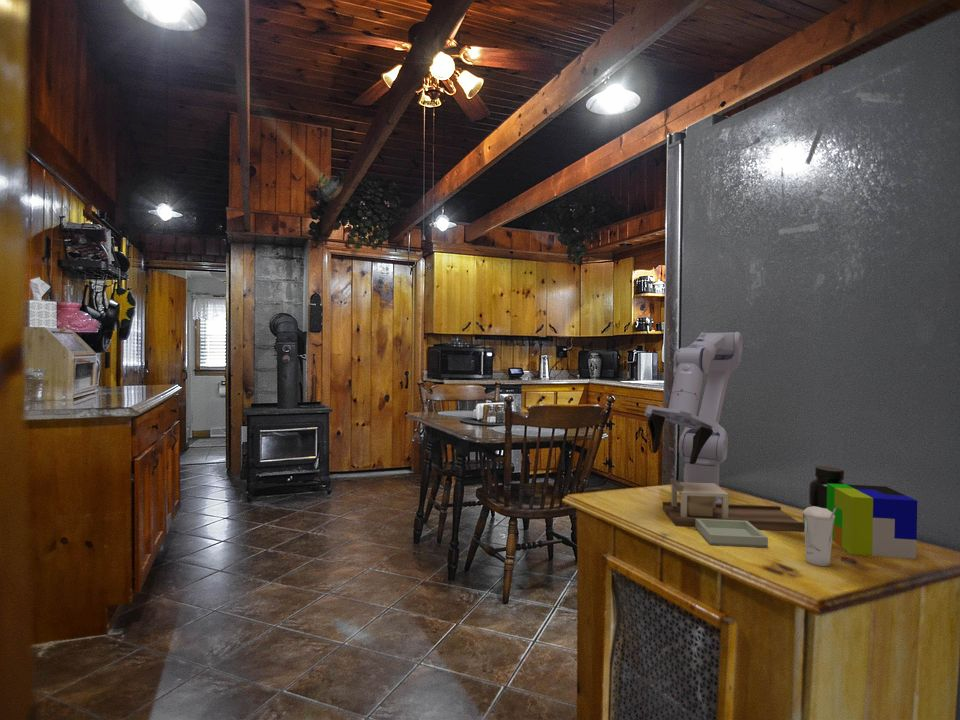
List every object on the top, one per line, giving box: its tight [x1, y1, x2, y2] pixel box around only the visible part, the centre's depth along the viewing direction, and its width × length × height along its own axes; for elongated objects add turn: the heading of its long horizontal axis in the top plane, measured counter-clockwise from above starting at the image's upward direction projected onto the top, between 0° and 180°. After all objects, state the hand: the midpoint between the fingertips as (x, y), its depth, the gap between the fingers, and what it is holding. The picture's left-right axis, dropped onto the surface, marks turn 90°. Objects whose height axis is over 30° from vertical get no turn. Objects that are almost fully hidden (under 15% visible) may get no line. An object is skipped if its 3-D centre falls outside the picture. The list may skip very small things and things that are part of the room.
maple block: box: [687, 496, 713, 517], centre depth 114 cm, size 4×4×4 cm
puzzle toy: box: [827, 483, 918, 560], centre depth 98 cm, size 10×10×10 cm
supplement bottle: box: [807, 465, 846, 509], centre depth 108 cm, size 7×7×12 cm
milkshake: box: [802, 506, 836, 567], centre depth 90 cm, size 5×5×10 cm
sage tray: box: [694, 519, 769, 549], centre depth 102 cm, size 10×10×2 cm
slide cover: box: [669, 477, 729, 519], centre depth 114 cm, size 9×10×6 cm
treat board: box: [662, 501, 804, 532], centre depth 113 cm, size 12×24×2 cm, turn 83°
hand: (673, 457), depth 111 cm, fingers open, 7 cm apart
